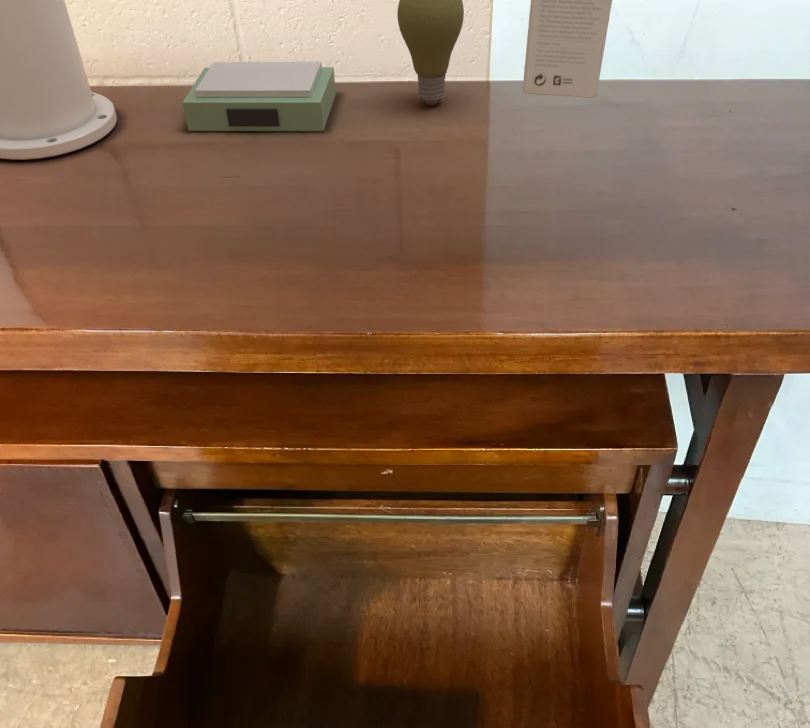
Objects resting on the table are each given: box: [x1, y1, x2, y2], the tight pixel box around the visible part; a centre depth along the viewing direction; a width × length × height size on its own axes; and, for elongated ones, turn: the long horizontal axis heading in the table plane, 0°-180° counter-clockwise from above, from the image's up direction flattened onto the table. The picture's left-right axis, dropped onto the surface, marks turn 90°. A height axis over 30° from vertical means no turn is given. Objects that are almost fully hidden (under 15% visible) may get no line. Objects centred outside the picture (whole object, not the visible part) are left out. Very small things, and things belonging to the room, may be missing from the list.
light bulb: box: [396, 0, 465, 106], centre depth 72 cm, size 6×6×10 cm
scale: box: [181, 61, 337, 132], centre depth 75 cm, size 12×8×3 cm
